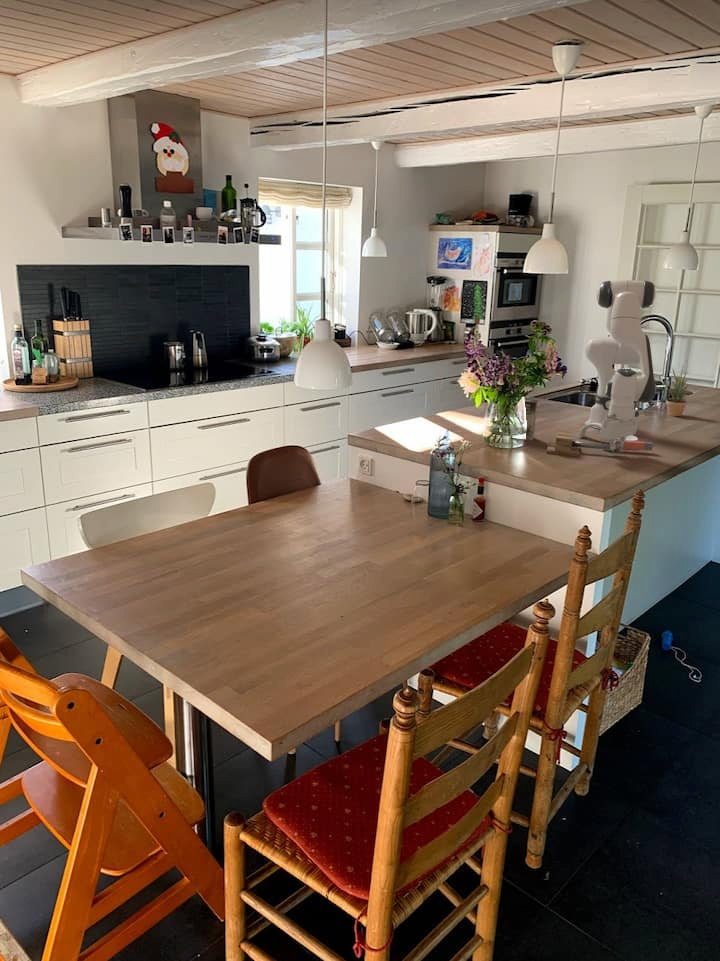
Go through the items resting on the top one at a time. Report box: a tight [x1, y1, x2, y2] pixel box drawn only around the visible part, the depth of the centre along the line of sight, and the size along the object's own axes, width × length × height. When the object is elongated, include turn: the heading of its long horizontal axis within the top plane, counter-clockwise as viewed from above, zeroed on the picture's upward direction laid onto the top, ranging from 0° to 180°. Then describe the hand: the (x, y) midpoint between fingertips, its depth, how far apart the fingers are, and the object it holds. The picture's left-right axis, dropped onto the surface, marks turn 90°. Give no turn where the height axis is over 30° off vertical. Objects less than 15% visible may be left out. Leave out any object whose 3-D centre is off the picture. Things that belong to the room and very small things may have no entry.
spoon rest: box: [577, 423, 639, 442], centre depth 309 cm, size 24×12×7 cm, turn 52°
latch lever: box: [616, 440, 654, 452], centre depth 295 cm, size 14×2×3 cm, turn 80°
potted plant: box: [665, 365, 689, 417], centre depth 360 cm, size 10×10×25 cm
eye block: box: [546, 430, 581, 457], centre depth 294 cm, size 14×12×6 cm
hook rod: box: [572, 440, 622, 454], centre depth 291 cm, size 3×24×4 cm, turn 74°
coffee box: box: [524, 398, 538, 442], centre depth 310 cm, size 9×6×16 cm
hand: (616, 448), depth 289 cm, fingers closed on hook rod, 3 cm apart
